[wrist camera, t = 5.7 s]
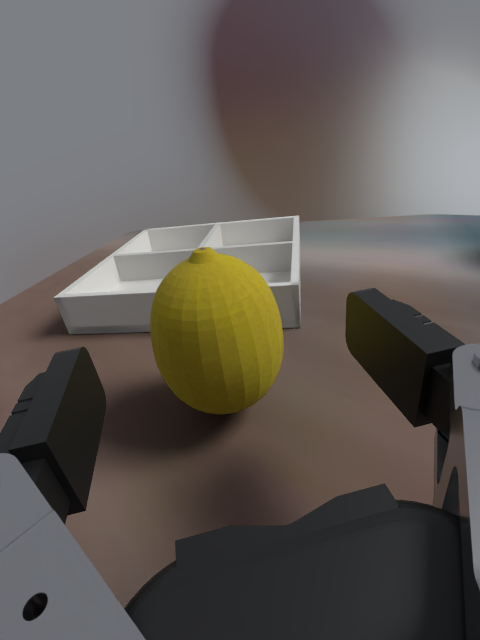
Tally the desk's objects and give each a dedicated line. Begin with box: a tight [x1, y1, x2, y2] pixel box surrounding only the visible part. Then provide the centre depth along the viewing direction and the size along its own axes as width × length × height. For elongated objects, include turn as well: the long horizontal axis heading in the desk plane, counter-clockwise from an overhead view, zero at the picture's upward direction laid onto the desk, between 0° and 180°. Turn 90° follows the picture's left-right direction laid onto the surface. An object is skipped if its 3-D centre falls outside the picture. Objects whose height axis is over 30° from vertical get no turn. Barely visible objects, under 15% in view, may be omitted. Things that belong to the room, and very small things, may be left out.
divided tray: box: [54, 216, 301, 334], centre depth 30 cm, size 17×17×3 cm
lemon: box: [150, 247, 284, 414], centre depth 15 cm, size 6×6×8 cm
